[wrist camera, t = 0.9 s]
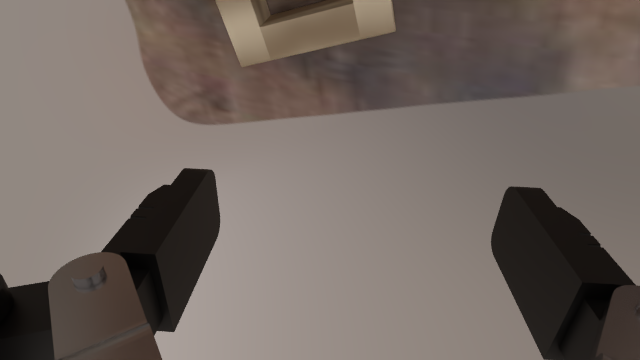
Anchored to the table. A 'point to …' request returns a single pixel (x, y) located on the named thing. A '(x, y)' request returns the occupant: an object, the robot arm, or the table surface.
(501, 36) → the table surface
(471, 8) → the table surface
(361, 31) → the socket block
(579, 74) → the table surface
